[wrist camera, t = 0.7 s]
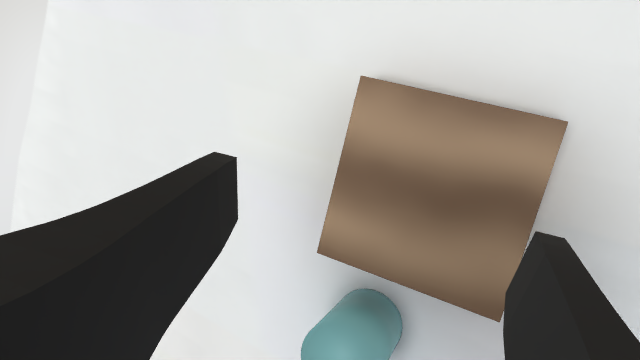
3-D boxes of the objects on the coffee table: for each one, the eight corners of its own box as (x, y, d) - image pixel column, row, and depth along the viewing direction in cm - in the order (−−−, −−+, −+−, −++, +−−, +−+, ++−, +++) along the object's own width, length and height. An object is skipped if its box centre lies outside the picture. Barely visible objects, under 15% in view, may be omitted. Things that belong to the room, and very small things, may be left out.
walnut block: (500, 299, 30) (499, 322, 27) (337, 240, 35) (316, 252, 31) (560, 123, 28) (568, 121, 24) (377, 82, 32) (360, 75, 29)
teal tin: (391, 365, 33) (366, 416, 27) (330, 338, 35) (293, 380, 29) (410, 304, 32) (387, 342, 26) (345, 278, 34) (311, 309, 28)
